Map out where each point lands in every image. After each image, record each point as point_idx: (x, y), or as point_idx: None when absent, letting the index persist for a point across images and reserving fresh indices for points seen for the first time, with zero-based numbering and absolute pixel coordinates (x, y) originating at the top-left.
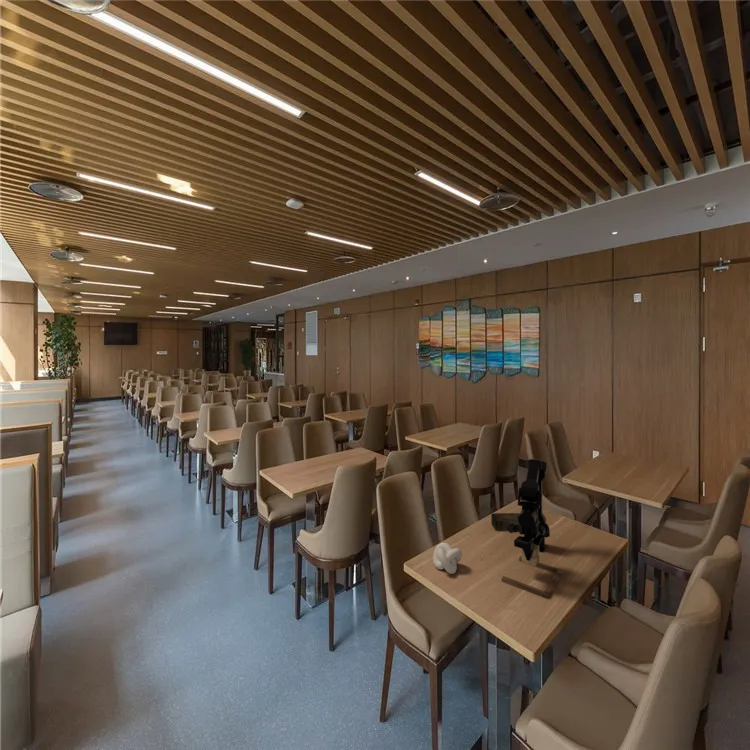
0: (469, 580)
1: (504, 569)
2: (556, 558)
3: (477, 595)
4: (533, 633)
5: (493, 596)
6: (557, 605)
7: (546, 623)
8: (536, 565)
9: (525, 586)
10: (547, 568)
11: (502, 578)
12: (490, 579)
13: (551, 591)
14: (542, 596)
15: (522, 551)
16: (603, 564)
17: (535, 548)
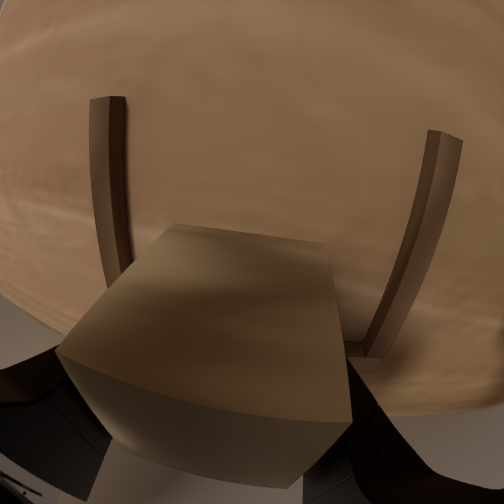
0: (56, 3)
1: (250, 50)
2: (490, 313)
3: (4, 91)
4: (8, 283)
5: (18, 135)
6: None
7: (43, 310)
8: (405, 249)
9: (98, 241)
10: (383, 310)
11: (91, 104)
12: (95, 47)
13: None
14: None
15: (102, 308)
16: (451, 411)
17: (180, 468)
